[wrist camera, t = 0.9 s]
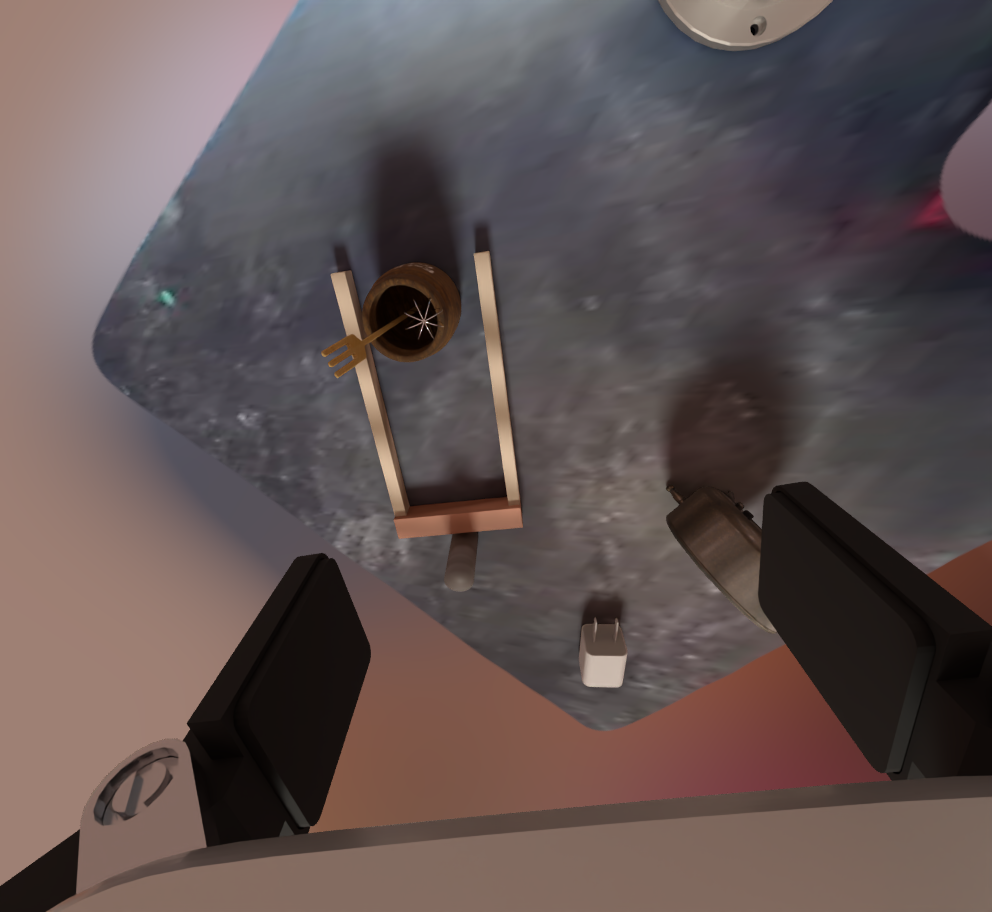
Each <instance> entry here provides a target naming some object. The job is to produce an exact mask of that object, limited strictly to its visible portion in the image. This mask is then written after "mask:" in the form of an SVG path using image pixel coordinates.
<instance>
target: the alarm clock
mask: <svg viewBox="0 0 992 912" xmlns="http://www.w3.org/2000/svg"><path fill="white" fill-rule="evenodd" d="M666 490H667V491H669V492H670V493H671V494H672V496H673V498H674V499H675V500H676V501H677V503H678V504H679V506H678V507H677V508H676V509H674V510H673V511H672V512H671V513H669V515H667V516H666V521H667V524H668V526H669V528H670V530H671V532H672V533H673V535H674V537H675V538H676V539H677V541H678V542H679V543H680V545H681V546H682V547H683V549H684V550H685V551H686V553H687V554H688V555H689V556H690V558H691V559H692V560H693V561H694V562H695V564H696V565H697V566H698V568H699V569H700V570H701V571H702V572H703V573H704V574H705V575H706V576H707V578H708V579H710V580H711V581H712V582H713V584H714V585H715V586H716V587H717V588H718V589H719V590H720V591H721V592H722V593H723V594H724V595H725V596H726V598H727V599H728V600H729V601H730V602H731V603H732V604H733V605H734V606H735V607H736V608H738V609H739V610H740V612H742V613H743V614H744V615H745V616H746V617H747V618H748V619H750V620H751V621H752V622H753V623H754V624H756V625H757V626H758V627H760V628H761V629H763V630H764V631H766V632H768V633H773V634H775V633H776V632H777V631H776V629H775V628H774V627H773V625H772V624H771V622H770V621H769V619H768V618H767V617H766V615H765V614H764V612H763V610H762V608H761V606H760V603H759V599H758V585H759V569H760V553H761V537H762V529H761V528H760V527H759V526H758V525H757V524H756V523H755V522H754V521H753V520H752V518H753V517H754V516H753V515H752V514H751V513H750V512H749V511H747V510H745V511H743V510H742V509H743V508H744V506H743V504H742V503H740V502H738V503H735V502H734V496H733V493H732V492H731V491H729V493H728V496H727V495H725V494H724V493H723V492H722V491H720V490H718V489H716V488H713V487H703V488H699V489H698V490H697V491H696V492H695V493H693V494H692V495H691V496H690V497H689V498H687V499H685V498H684V497H683V496H682V495H681V494H680V493H679V492H677V491H676V490H675V489H674V486H673V485H668V486H667V487H666Z"/></svg>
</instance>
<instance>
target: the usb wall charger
mask: <svg viewBox="0 0 992 912" xmlns="http://www.w3.org/2000/svg"><path fill="white" fill-rule="evenodd" d="M626 657H627V647H626V644H625V640H624V636H623V633H622V629H621V628H620V627H619V626H618V619H617V618H616V619H615V624H597V620H596V617H595V618H594V624H584V625H583V626H582V632H581V642H580V652H579V663H580V669H581V675H582V681H583V683H584V684H585V685H586V686H589V687H620V686H621V685H622V682H623V676H624V670H625V664H626Z"/></svg>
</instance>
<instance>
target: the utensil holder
mask: <svg viewBox="0 0 992 912" xmlns="http://www.w3.org/2000/svg"><path fill="white" fill-rule="evenodd" d="M460 316H461V300H460V295H459V292H458V290H457V288H456V286H455V284H454V282H453V281H452V279H451V278H450V277H449V276H448V275H447V274H446V273H445V272H443V271H442V270H441V269H439V268H437V267H435V266H433V265H430V264H427V263H420V262H414V263H408V264H404V265H401V266H398V267H395V268H393V269H391V270H389V271H387V272H386V273H384V274H383V275H382V276H381V277H380V278H379V279H378V280H377V281H376V282H375V283H374V285H373V287H372V288H371V290H370V292H369V293H368V295H367V297H366V299H365V302H364V305H363V311H362V321H363V326H364V330H365V333H366V335H367V338H365V339H363V340H362V341H361V340H360V339H359V338H357V337H356V336H355V335H354V334H350V335H348V336H347V337H345V338H343V339H342V340H340V341H338V342H337V343H335V344H333V345H332V346H330V347H328V348H327V349H325V350H323V351H322V353H321V354H322V355H323V356H324V357H326V356H327V355H329V354H331V353H332V352H334V351H336V350H337V349H339V348H340V347H342V346H344V345H346V346H347V347H348V350H346V351H345V352H343V353H342V354H340V355H339V356H337V357H336V358H334V359H332V360H331V361H329V362H328V365H329V367H333V366H335V365H336V364H338V363H339V362H341V361H342V360H344V359H345V358H347V357H349V356H350V355H352V356H353V358H354V360H352V361H351V362H349V363H348V364H347V365H345V366H344V367H342V368H341V369H339V370H338V371H337V372H335V376H336V377H337V378H339V377H340V376H342V375H343V374H344V373H346V372H347V371H349V370H350V369H352V368H353V367H354V366H356V365H357V364H359V363H360V362H362V361H363V360H364V359H366V351H365V345H367V344H368V343H370V342H371V343H372V345H373V346H374V347H375V348H376V349H377V350H378V351H379V352H380V353H382V354H383V355H385V356H386V357H388V358H390V359H393V360H396V361H400V362H414V361H419V360H422V359H424V358H427V357H428V356H431V355H433V354H435V353H437V352H438V351H440V350H441V349H442V348H443V347H444V346H445V345H446V344H447V343H448V342H449V340H450V339H451V337H452V336H453V334H454V332H455V330H456V328H457V326H458V323H459V320H460Z"/></svg>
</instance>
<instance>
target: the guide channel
mask: <svg viewBox="0 0 992 912" xmlns="http://www.w3.org/2000/svg"><path fill="white" fill-rule="evenodd" d="M474 259H475V266H476V273H477V280H478V288H479V295H480V302H481V309H482V317H483V324H484V331H485V338H486V346H487V353H488V360H489V367H490V375H491V382H492V389H493V396H494V404H495V411H496V418H497V425H498V433H499V440H500V447H501V454H502V462H503V469H504V476H505V483H506V491H507V497H501V498H490V499H480V500H470V501H459V502H449V503H439V504H428V505H418V506H409V502H408V498H407V494H406V490H405V486H404V482H403V478H402V474H401V469H400V465H399V461H398V457H397V453H396V449H395V445H394V441H393V437H392V433H391V429H390V425H389V421H388V417H387V413H386V409H385V405H384V401H383V397H382V393H381V389H380V385H379V381H378V377H377V372H376V368H375V364H374V360H373V356H372V352H371V348H370V344H369V343H368V344H367V345H365V351H366V359H364V360H363V361H362V362H360V363H359V364H357V365H356V366H355V368H356V372H357V375H358V379H359V383H360V387H361V390H362V394H363V398H364V402H365V405H366V409H367V413H368V417H369V420H370V424H371V428H372V432H373V435H374V439H375V443H376V447H377V450H378V454H379V458H380V462H381V465H382V469H383V473H384V477H385V480H386V484H387V488H388V492H389V495H390V499H391V503H392V507H393V510H394V514H395V518H394V522H395V526H396V530H397V533H398V537H399V539H400V538H411V537H422V536H433V535H444V534H453V535H452V540H451V545H450V551H449V556H448V561H447V567H446V572H445V577H444V581H445V584H446V585H447V587H449V588H450V589H452V590H454V591H466V590H468V589H469V588H471V587H472V585H473V582H474V573H475V563H476V554H477V544H478V533H477V531H488V530H499V529H510V528H521V527H523V521H522V509H521V501H520V493H519V485H518V477H517V469H516V460H515V452H514V444H513V436H512V428H511V420H510V412H509V404H508V396H507V388H506V380H505V372H504V364H503V356H502V348H501V340H500V332H499V323H498V315H497V307H496V299H495V291H494V283H493V275H492V267H491V259H490V251H485V252H478V253H474ZM331 278H332V282H333V285H334V289H335V293H336V297H337V300H338V304H339V308H340V312H341V315H342V319H343V323H344V327H345V330H346V334H347V336H348V335H350V334H354V335H355V336H356V337H357V338H359V339H360V340H361V341H362V340H363V339H365V338H367V335H366V333H365V330H364V326H363V321H362V312H361V308H360V304H359V300H358V296H357V292H356V288H355V284H354V279H353V275H352V271H351V270H350V271H343V272H337V273H333V274H331ZM352 357H353V356H352ZM353 360H354V358H353Z"/></svg>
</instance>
